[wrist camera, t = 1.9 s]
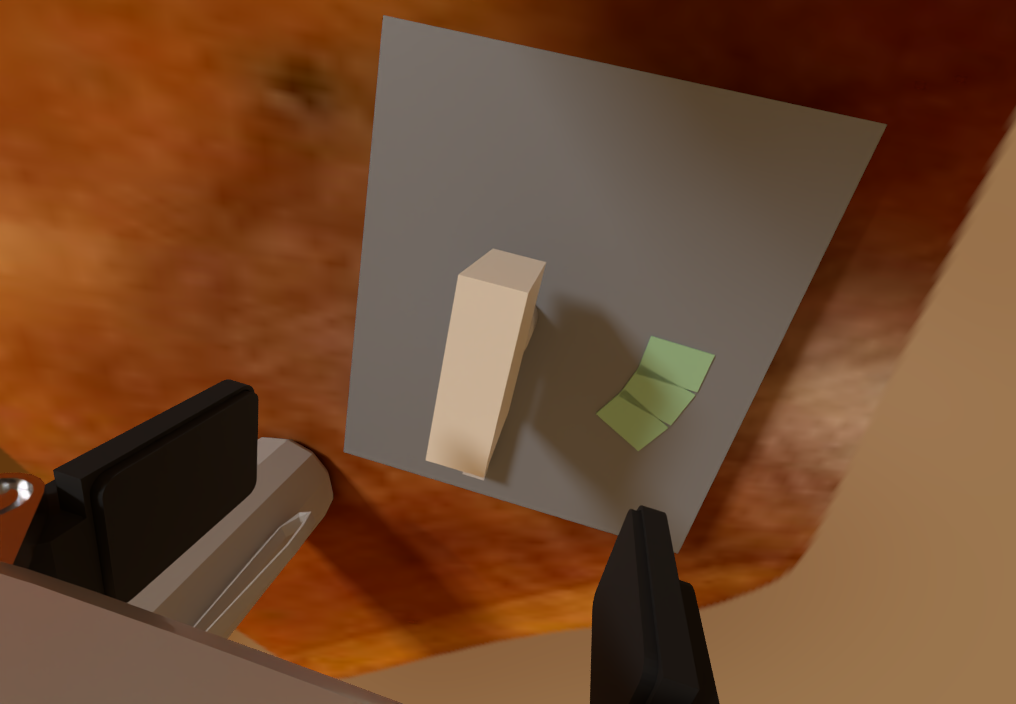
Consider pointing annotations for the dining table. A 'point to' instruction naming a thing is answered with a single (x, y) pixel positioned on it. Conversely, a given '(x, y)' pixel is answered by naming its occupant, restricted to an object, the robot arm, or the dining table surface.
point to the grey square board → (588, 262)
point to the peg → (483, 358)
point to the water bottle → (245, 543)
